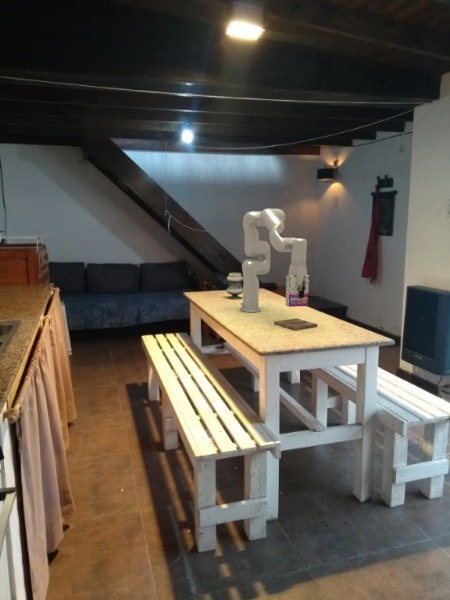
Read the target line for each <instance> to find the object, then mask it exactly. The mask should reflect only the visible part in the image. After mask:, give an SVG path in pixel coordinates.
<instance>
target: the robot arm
mask: <svg viewBox="0 0 450 600" xmlns="http://www.w3.org/2000/svg"><path fill="white" fill-rule="evenodd" d="M285 220H286V214H285V212H284V210H282V209H280V208H264V209H263V210H261V211H258V210H257V211H256V210H255V211H247V212H246V213H245V214H244V216H243V219H242V226H243V232H244V255H246V256H247V257H251V258H248V259H244V260H243V262H242V264H241V269H242V277H243V281H242V282H243V283H242V288H243V293H242V302H241V303H240V305H241V306H242V307H240V311H241V312H244V313H258V312H261V310H262V309H261V308H260V307H259V303H260V302H259V301H260V300H259V299H260V298H259V296H260V295H259V294H260V280H259V279H258V277H257V275H266V274H268V273H269V272H270V270H271V269H270V268H271V246H272V247H273V248H274V249H275V251H277V252H279V253H291V258H290V265H289V269H288V274H287V275H296V285H299V287H300V290H299V298H304V290H306V288H307V286H308V285H309V286H310V282H309V283H308V282H307V275H308V271H307V270H308V269H307V248H308V247H307V246H308V240H307V239H306V238H298V237H281V236H280V234H281V233H283V231H284V230H285V223H284V222H285ZM256 227H266V228H267V230H268V231H269V235H268V237H269V242H270V244H271V246H270V244H269V242H268V241H265V240H260V234H259V233H260V232H259V230H258V228H256ZM252 257H253V258H252ZM254 257H258V258H254ZM302 283H303V284H302ZM302 286H303V287H302Z"/></svg>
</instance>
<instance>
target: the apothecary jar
mask: <svg viewBox="0 0 450 600" xmlns="http://www.w3.org/2000/svg"><path fill="white" fill-rule="evenodd" d="M226 281H227V282H228V284H227V285H228V287H227V288H226V292H227V294H228V295H230V296H228V297H227V299H229V300H235V301H236V300H243V297H241V296H240V295H241V294H242V295H243V283H242V282H243V275H242V273H241V272H230V273H228V276H226Z"/></svg>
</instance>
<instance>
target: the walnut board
mask: <svg viewBox="0 0 450 600" xmlns="http://www.w3.org/2000/svg"><path fill="white" fill-rule="evenodd" d="M273 325H275V326H278V327H281V328H285V329H288V330H291V331H301V330H307V329H313V328H318V323H315V322H311V321H307V320H304V319H300V318H297V317H295V318H290V319H283V320H275V321H274V323H273Z"/></svg>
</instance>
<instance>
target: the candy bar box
mask: <svg viewBox="0 0 450 600" xmlns="http://www.w3.org/2000/svg"><path fill="white" fill-rule="evenodd" d="M285 278H286V279H285V281H286V283H285V306H287V307H290V308H292V307H293V308H294V307H295V308H296V307H308V306H309V296H310V295H309V294H310V293H309V291H310V289H309V288H310V275H309V274H307V282H308V283H309V285H308V286H307V288H306V290H304V298H299V290H300V287H299V285H296V275H288V274H286V277H285ZM302 284H303V283H302ZM302 287H303V286H302Z"/></svg>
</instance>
